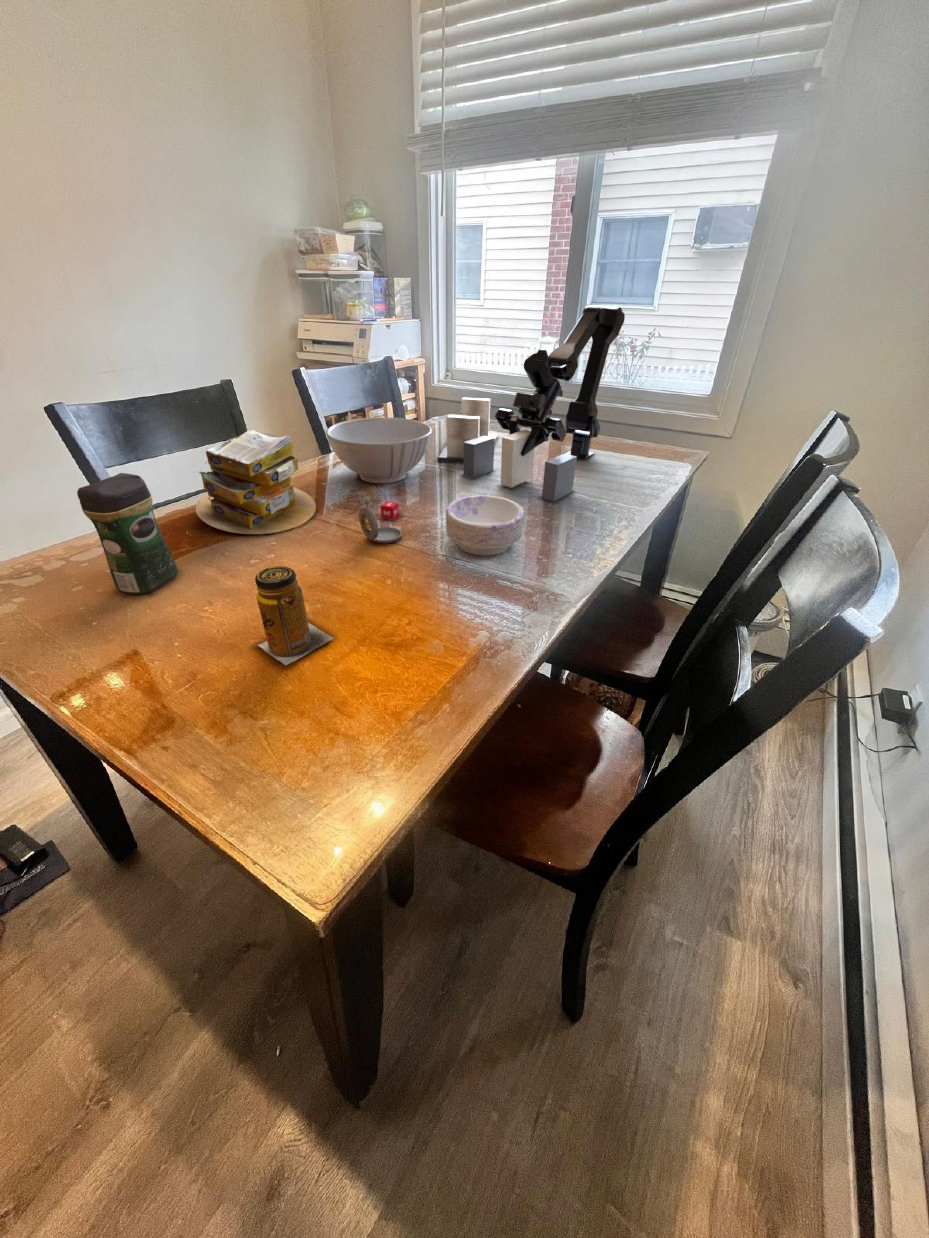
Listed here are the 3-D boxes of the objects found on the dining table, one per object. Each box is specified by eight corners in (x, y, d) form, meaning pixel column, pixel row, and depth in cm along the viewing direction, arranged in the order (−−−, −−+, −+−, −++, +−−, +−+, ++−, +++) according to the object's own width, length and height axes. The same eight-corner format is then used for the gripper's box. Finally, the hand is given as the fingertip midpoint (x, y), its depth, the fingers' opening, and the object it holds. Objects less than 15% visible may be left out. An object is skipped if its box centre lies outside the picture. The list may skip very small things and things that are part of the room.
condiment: (257, 646, 76) (238, 574, 69) (305, 621, 81) (292, 553, 74) (286, 667, 72) (268, 593, 65) (334, 639, 77) (323, 569, 71)
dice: (393, 520, 115) (392, 507, 113) (381, 518, 115) (380, 505, 114) (399, 515, 117) (398, 502, 115) (387, 513, 118) (386, 500, 116)
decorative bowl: (429, 494, 128) (427, 445, 121) (321, 492, 128) (314, 443, 121) (435, 461, 150) (434, 418, 143) (343, 459, 150) (338, 416, 143)
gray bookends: (483, 468, 146) (484, 435, 141) (572, 491, 131) (577, 456, 126) (463, 476, 140) (463, 442, 135) (553, 501, 125) (558, 464, 120)
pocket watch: (406, 534, 109) (404, 488, 103) (389, 550, 102) (385, 502, 96) (372, 528, 111) (367, 482, 105) (352, 544, 104) (346, 496, 99)
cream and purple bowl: (509, 569, 97) (512, 529, 92) (434, 555, 101) (433, 517, 96) (529, 536, 108) (532, 500, 104) (461, 525, 113) (462, 490, 108)
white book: (521, 475, 139) (524, 429, 132) (532, 478, 137) (535, 432, 130) (500, 484, 133) (502, 437, 126) (511, 488, 132) (513, 440, 125)
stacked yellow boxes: (338, 509, 119) (328, 435, 110) (246, 547, 102) (225, 463, 93) (269, 487, 131) (255, 418, 121) (176, 518, 114) (152, 441, 104)
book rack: (496, 437, 173) (498, 398, 166) (485, 464, 149) (487, 420, 142) (455, 434, 175) (455, 396, 168) (437, 461, 150) (437, 417, 143)
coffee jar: (153, 566, 95) (116, 466, 85) (187, 573, 93) (153, 472, 83) (107, 591, 88) (61, 485, 77) (143, 600, 86) (100, 492, 75)
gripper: (500, 374, 129) (472, 428, 128) (566, 383, 119) (536, 442, 118) (516, 402, 138) (490, 453, 137) (578, 413, 129) (550, 468, 128)
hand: (515, 453), depth 130 cm, fingers closed on white book, 4 cm apart
